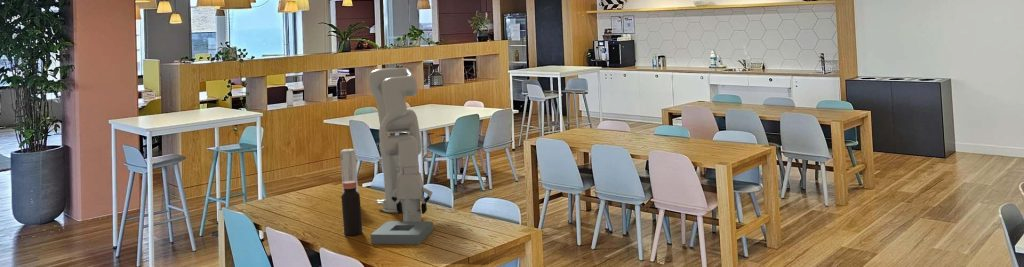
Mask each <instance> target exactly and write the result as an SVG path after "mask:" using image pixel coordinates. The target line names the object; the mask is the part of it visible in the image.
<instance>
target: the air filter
mask: <svg viewBox="0 0 1024 267" xmlns="http://www.w3.org/2000/svg"><path fill="white" fill-rule="evenodd" d="M339 155H340V157H339V158H340V168H341V170H340V171H341V181H342V182H341V183H342V186H343V182H345V181H356V191H357V192H358V193H359V186H358V182H359V181H358V173H357V171H358V170H357V158H356V156H357V155H356V151H355V149H354V148H346V149H342V150H341V151H340V153H339ZM343 193H344V188H343V187H342V194H343Z"/></svg>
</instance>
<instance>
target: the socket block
mask: <svg viewBox="0 0 1024 267" xmlns="http://www.w3.org/2000/svg"><path fill="white" fill-rule="evenodd" d="M432 232H434V221H428V220H427V221H425V220H424V221H422V220H421V221H403V220H402V221H398V220H397V221H396V220H395V221H394V220H390V221H389V220H388V221H386V222H385V223H383V224H382V225H380V226H379V227H378V228H377V229H376V230H374V231H373V232H372V233H371V234H370V244H371V245H420V244H422V242H423V241H424V240H425V239H426V238H427V237H428V236H430V235H431V234H432Z"/></svg>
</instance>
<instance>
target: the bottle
mask: <svg viewBox="0 0 1024 267" xmlns="http://www.w3.org/2000/svg"><path fill="white" fill-rule="evenodd" d="M343 188H344V193H343V192H342V194H341V197H340V198H341V208H342V209H341V210H342V224H343V233H344V235H345V236H348V237H355V236H360V235H361V234H363V224H362V223H363V221H362V210H361V208H362V207H361V197H360V196H361V195H360V193H359V191H358V192H357V191H356V181H345V182H343V185H342V189H343Z"/></svg>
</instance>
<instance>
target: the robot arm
mask: <svg viewBox="0 0 1024 267" xmlns="http://www.w3.org/2000/svg"><path fill="white" fill-rule="evenodd" d="M368 86H369V89H370V91H371V93H372V96H373V97H374V100H375V103H376V109H377V115H378V116H377V117H378V121H379V128H378V129H379V130H378V137H379V144H378V146H379V151H380V155H381V156H380V157H381V160H382V169H383V170H382V171H383V172H382V173H383V184H384V194H385V195H384V196H385V199H376V204H377V206H382V208H381V209H382V212H384V213H394V214H395V213H397V214H398V215H399V214H401V213H403V206H402V200H406V196H408V199H409V200H418V199H419V200H420V207H421V215H424V214H425V213H426V212H427V209H428V207H427V206H428V205H427V203H428V202H429V200H430V199H431V197H432V195H433V191H432V190H430V189H428V188H426V187H424V182H423V176H422V174H421V173H422V172H420V166H419V155H420V154H421V153H422V149H423V147H422V139H421V133H420V132H421V131H420V125H419V121H418V116H417V114H416V112H415V111H414V110H412V109H408V107H407V102H406V101H407V100H406V97H415V96H416V95H417V93H418V89H419V88H418V83H417V80H416V77H415V75H414V74H413V73H412V71H411V70H410V69H409V68H407V67H390V68H388V67H387V68H386V67H385V68H379V69H375V70H371V71H370V72H369V74H368ZM396 133H398V134H396ZM399 133H407V134H399ZM387 134H393V135H387ZM394 134H396V135H394ZM425 194H427V196H426V197H425Z"/></svg>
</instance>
